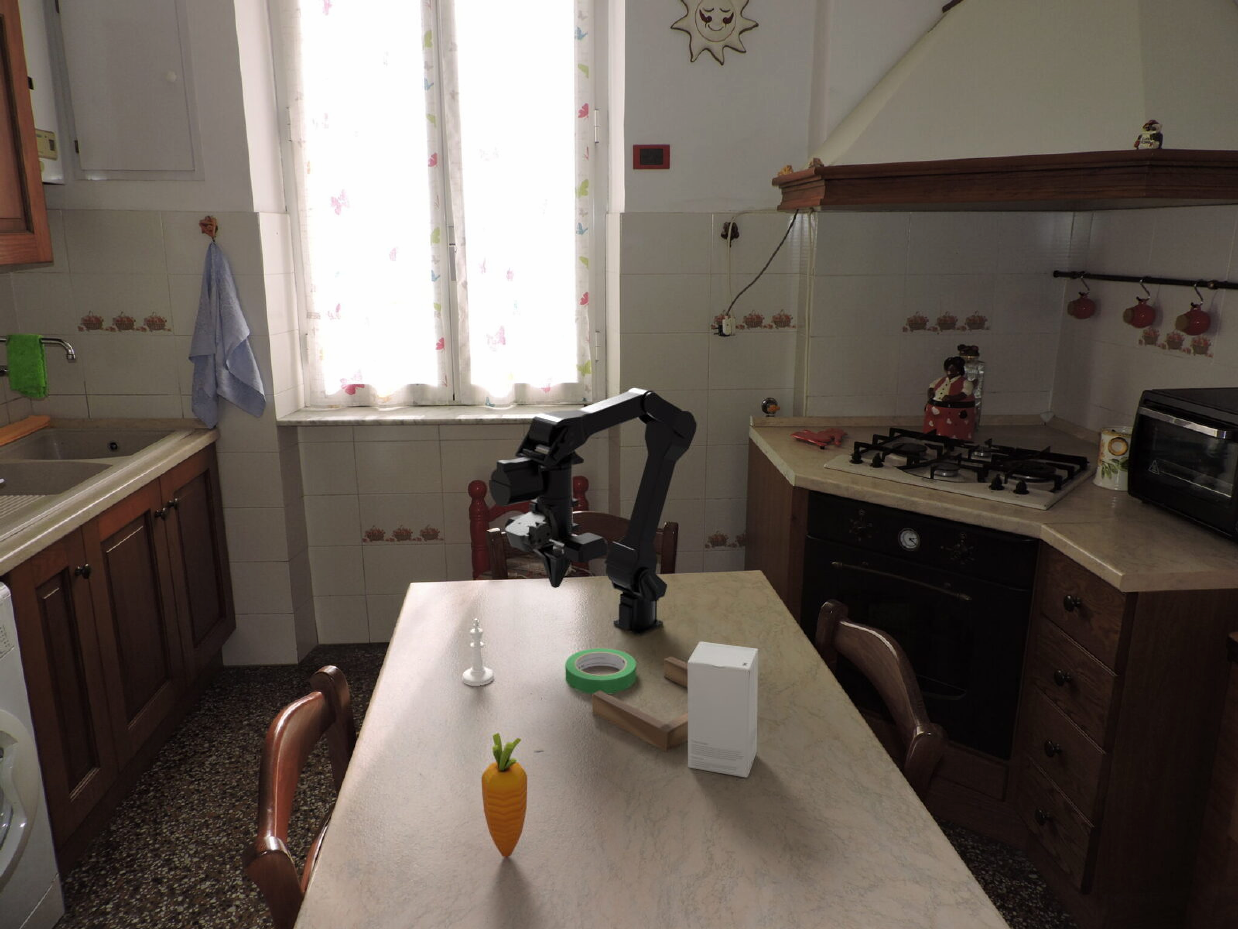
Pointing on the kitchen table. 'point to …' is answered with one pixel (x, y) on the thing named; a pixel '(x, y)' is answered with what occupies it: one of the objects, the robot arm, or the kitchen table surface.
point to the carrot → (504, 797)
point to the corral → (642, 722)
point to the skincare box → (722, 708)
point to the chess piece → (477, 661)
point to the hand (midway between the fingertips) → (555, 586)
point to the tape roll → (600, 682)
